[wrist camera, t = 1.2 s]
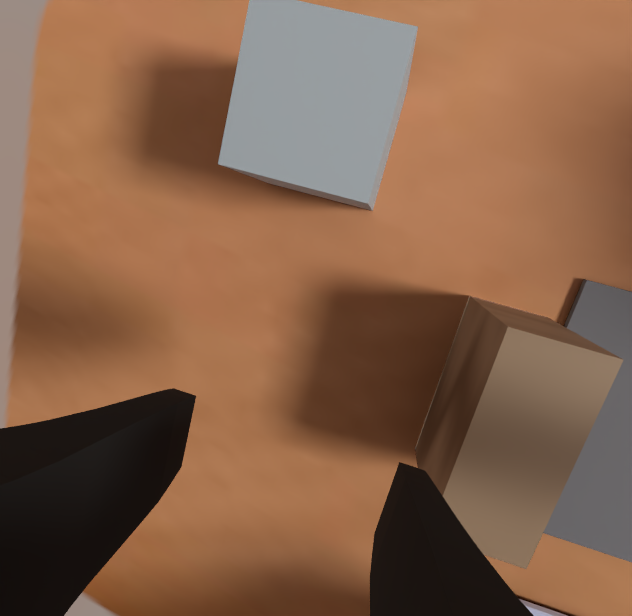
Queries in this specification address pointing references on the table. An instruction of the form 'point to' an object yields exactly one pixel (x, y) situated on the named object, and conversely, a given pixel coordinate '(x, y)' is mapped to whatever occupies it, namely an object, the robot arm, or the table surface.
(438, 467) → the walnut block
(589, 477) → the mat
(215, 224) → the table surface
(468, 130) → the table surface
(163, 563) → the table surface
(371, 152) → the grey block
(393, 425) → the table surface
